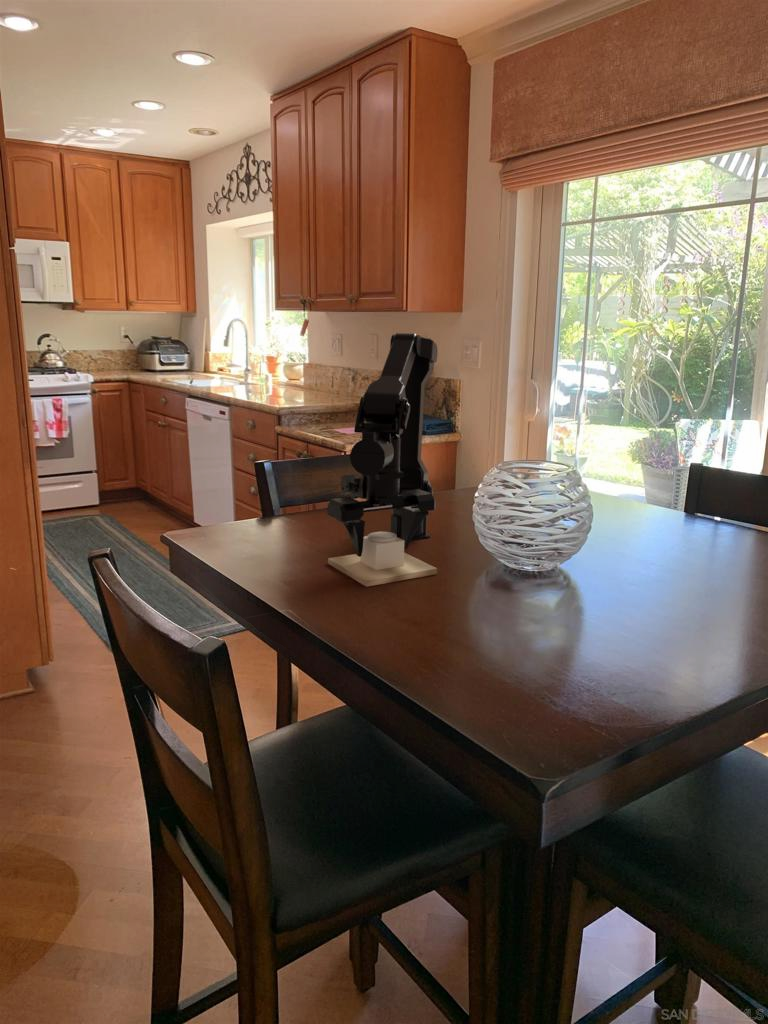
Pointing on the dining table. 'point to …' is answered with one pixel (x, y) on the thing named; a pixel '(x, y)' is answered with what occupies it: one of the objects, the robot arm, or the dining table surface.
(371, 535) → the white domed square block
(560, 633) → the dining table surface
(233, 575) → the dining table surface
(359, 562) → the stud plate
